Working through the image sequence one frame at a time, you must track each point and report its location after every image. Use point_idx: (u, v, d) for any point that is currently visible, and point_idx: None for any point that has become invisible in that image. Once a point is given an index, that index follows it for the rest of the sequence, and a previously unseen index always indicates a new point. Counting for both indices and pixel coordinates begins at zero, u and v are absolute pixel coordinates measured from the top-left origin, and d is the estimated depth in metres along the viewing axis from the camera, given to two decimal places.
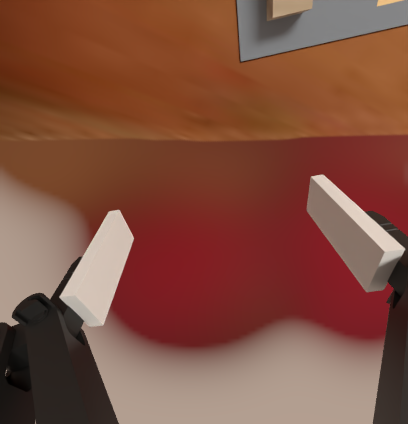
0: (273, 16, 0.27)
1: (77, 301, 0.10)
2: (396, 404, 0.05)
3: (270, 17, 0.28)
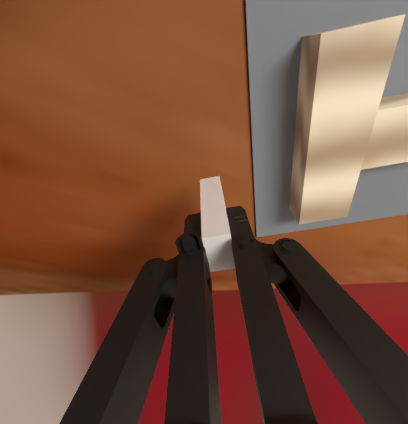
0: (299, 223, 0.23)
1: (214, 243, 0.11)
2: (256, 378, 0.06)
3: (295, 216, 0.23)
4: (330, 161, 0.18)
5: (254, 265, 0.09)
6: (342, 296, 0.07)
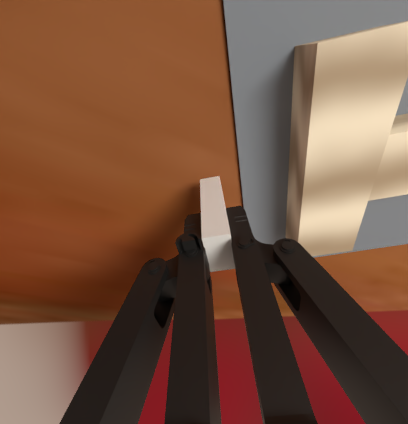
0: None
1: (214, 243, 0.11)
2: (256, 378, 0.06)
3: None
4: (331, 191, 0.15)
5: (255, 265, 0.09)
6: (342, 296, 0.07)
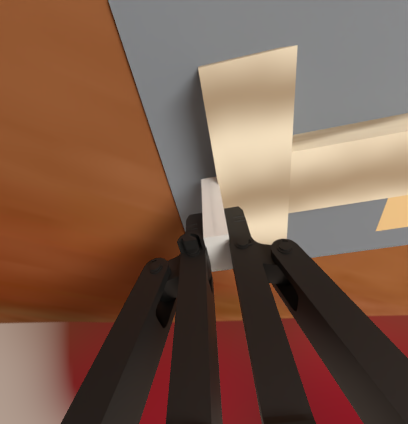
0: None
1: (216, 242, 0.11)
2: None
3: None
4: (250, 204, 0.16)
5: (253, 266, 0.09)
6: (339, 296, 0.07)
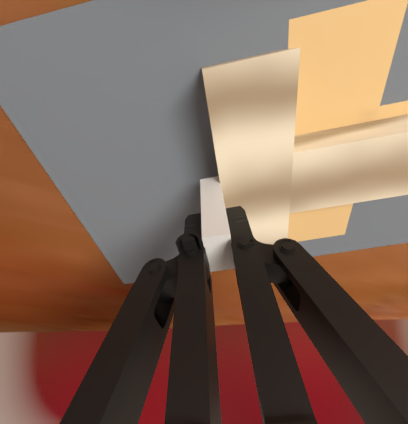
0: None
1: (214, 243, 0.11)
2: (256, 378, 0.06)
3: None
4: (251, 205, 0.16)
5: (254, 265, 0.09)
6: (342, 296, 0.07)
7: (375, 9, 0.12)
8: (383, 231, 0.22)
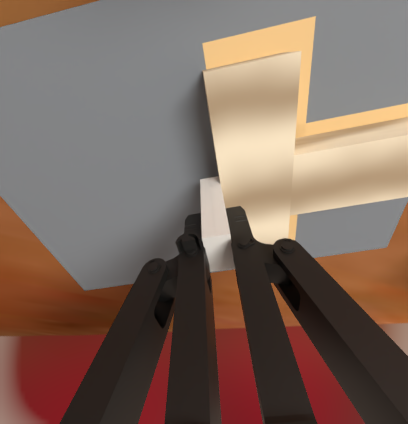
0: None
1: (214, 243, 0.11)
2: (256, 378, 0.06)
3: None
4: (252, 207, 0.16)
5: (254, 265, 0.09)
6: (342, 296, 0.07)
7: (284, 34, 0.12)
8: (332, 241, 0.23)
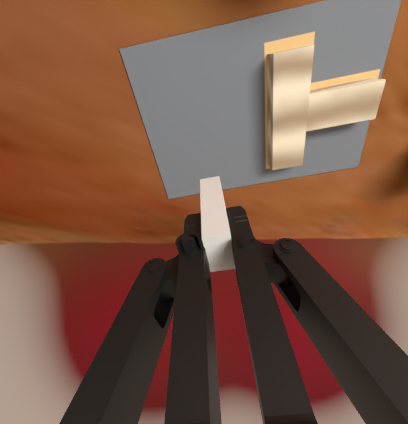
0: (272, 169, 0.36)
1: (214, 243, 0.11)
2: (256, 378, 0.06)
3: (270, 166, 0.36)
4: (287, 125, 0.31)
5: (255, 265, 0.09)
6: (342, 296, 0.07)
7: (301, 39, 0.28)
8: (325, 161, 0.38)
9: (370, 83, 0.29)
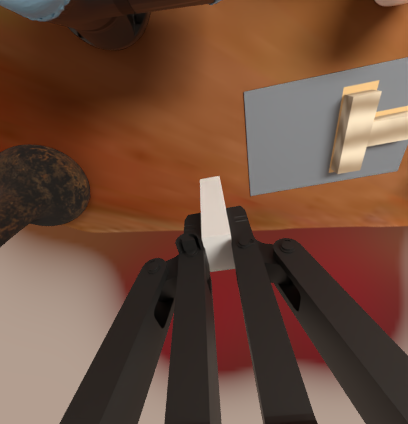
0: (337, 173, 0.48)
1: (214, 243, 0.11)
2: (257, 378, 0.06)
3: (335, 171, 0.49)
4: (354, 142, 0.44)
5: (255, 265, 0.09)
6: (342, 296, 0.07)
7: (369, 84, 0.41)
8: (373, 167, 0.51)
9: None
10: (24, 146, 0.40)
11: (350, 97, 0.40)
